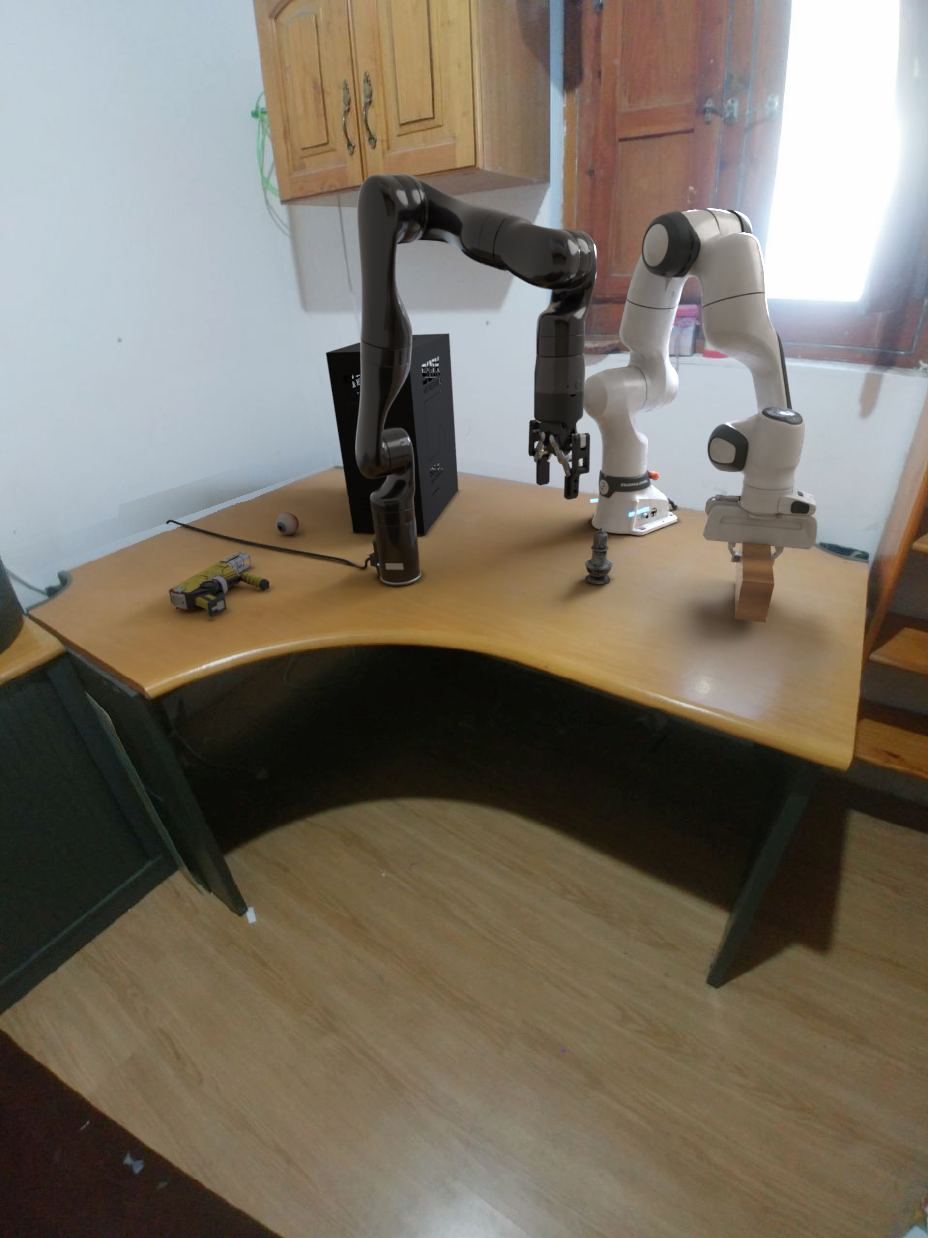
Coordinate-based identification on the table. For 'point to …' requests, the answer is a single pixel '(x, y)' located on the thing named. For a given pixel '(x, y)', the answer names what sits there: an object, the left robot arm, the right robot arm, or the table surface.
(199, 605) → the toy gun
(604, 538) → the dark grey chess piece
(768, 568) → the bar
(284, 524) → the eyeball
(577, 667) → the table surface
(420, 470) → the cardboard box
